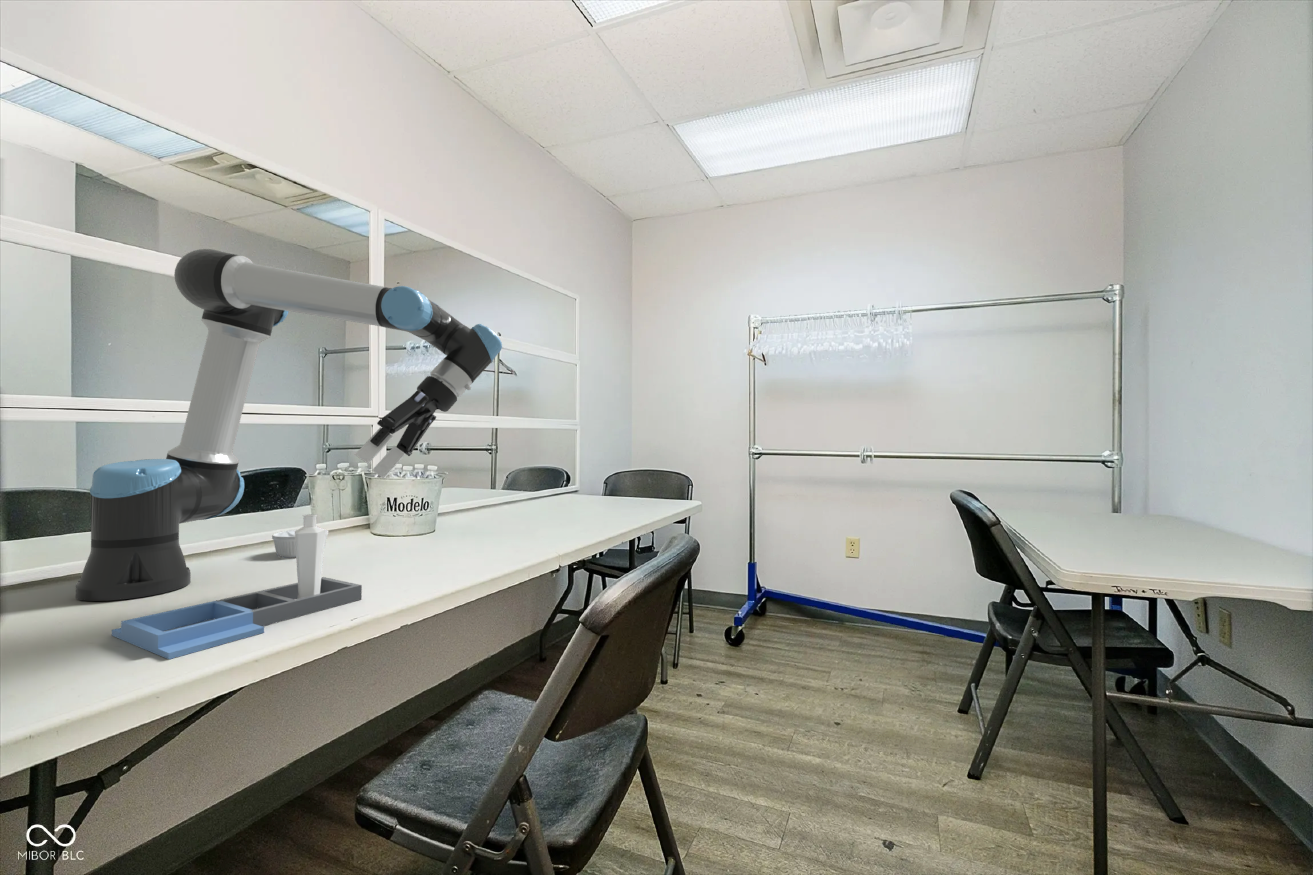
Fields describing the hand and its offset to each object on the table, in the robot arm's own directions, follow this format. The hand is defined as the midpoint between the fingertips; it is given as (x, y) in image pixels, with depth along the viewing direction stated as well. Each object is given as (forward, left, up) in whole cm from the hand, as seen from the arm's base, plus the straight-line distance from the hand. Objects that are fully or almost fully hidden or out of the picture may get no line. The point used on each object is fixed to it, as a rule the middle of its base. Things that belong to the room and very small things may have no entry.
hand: (369, 467), depth 106 cm
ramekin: (-31, +24, -23) cm, 46 cm away
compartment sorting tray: (-6, -20, -22) cm, 31 cm away
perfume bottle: (-3, -13, -23) cm, 26 cm away
